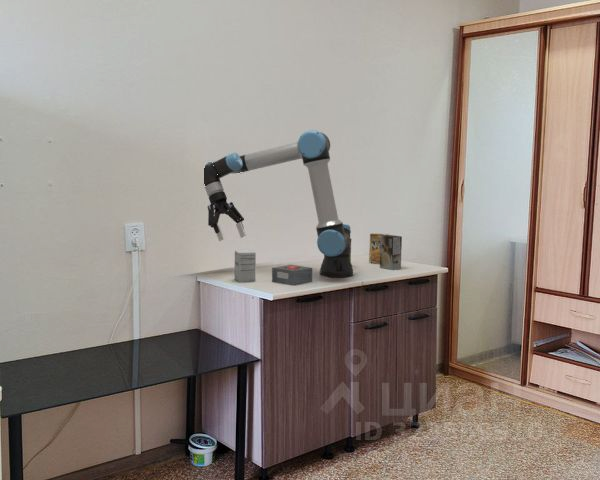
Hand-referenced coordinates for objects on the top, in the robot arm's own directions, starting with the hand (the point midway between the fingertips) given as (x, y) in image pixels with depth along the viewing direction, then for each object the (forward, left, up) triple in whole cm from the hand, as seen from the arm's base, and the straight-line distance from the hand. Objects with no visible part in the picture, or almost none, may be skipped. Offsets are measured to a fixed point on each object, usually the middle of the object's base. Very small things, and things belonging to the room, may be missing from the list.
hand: (232, 238), depth 267 cm
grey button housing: (-8, +27, -17) cm, 33 cm away
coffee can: (-56, +18, -17) cm, 62 cm away
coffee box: (-70, +38, -17) cm, 82 cm away
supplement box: (+4, +11, -17) cm, 21 cm away
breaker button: (-8, +27, -15) cm, 32 cm away
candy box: (-80, +25, -17) cm, 86 cm away
